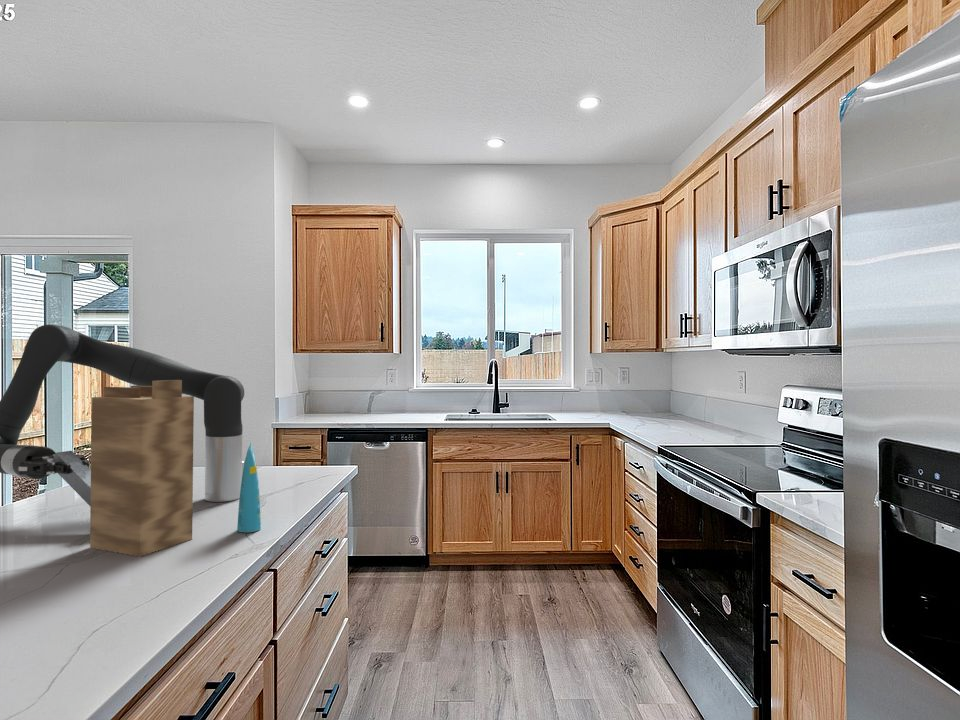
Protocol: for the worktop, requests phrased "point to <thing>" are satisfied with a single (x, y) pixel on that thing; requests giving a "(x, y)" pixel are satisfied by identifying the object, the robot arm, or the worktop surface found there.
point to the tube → (249, 496)
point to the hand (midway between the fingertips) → (78, 467)
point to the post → (141, 468)
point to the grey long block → (76, 474)
